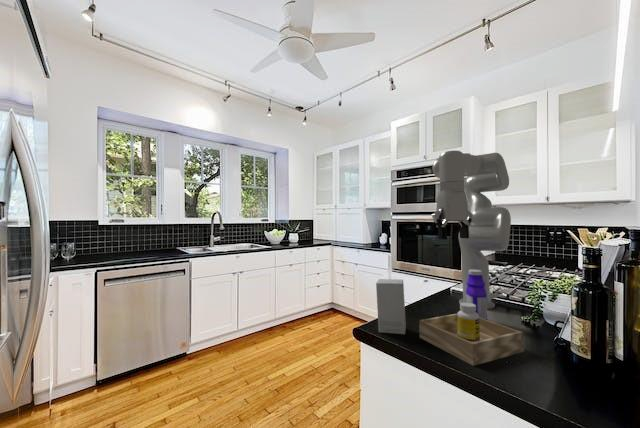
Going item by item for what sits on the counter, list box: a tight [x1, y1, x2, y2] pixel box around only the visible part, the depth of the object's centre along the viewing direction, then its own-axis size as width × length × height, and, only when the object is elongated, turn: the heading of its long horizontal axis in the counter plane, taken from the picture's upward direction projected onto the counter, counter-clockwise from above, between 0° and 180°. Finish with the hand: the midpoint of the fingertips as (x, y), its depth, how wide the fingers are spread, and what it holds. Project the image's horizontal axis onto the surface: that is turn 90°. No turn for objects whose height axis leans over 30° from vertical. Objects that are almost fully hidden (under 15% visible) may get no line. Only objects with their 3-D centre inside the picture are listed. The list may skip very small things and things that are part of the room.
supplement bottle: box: [456, 303, 480, 342], centre depth 78 cm, size 5×5×10 cm
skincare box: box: [375, 278, 407, 335], centre depth 88 cm, size 8×7×16 cm
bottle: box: [466, 270, 488, 320], centre depth 94 cm, size 7×6×17 cm
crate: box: [418, 312, 525, 367], centre depth 77 cm, size 18×18×5 cm
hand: (453, 238), depth 94 cm, fingers open, 9 cm apart
